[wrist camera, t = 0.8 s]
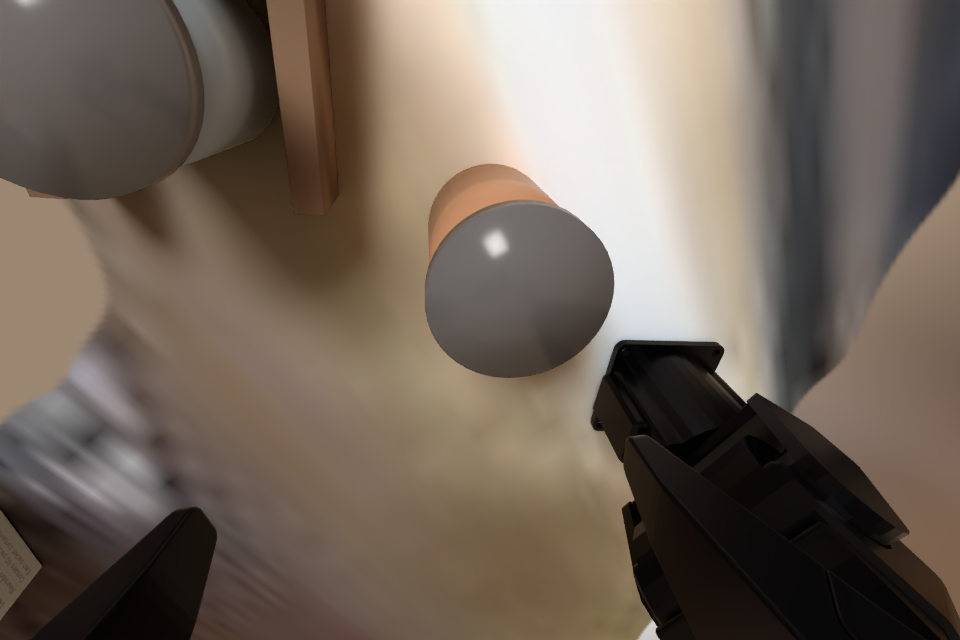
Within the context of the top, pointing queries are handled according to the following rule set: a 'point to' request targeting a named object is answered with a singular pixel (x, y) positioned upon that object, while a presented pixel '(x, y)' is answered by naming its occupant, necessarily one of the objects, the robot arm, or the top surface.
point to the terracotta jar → (512, 275)
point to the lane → (301, 102)
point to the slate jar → (127, 90)
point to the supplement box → (14, 565)
